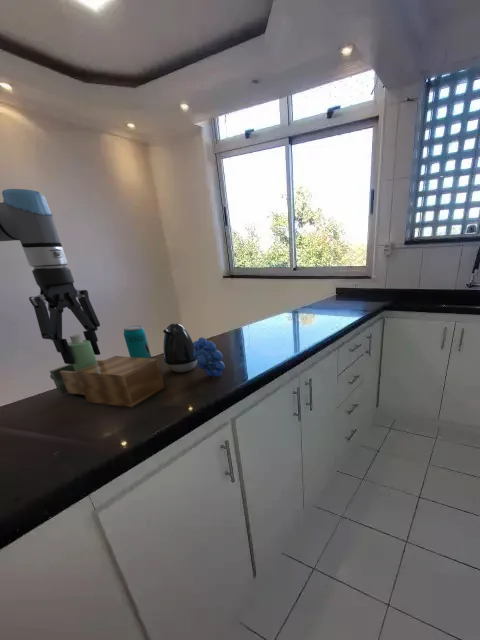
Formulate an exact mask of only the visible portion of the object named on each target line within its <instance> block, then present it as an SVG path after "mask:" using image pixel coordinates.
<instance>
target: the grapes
mask: <svg viewBox="0 0 480 640" xmlns="http://www.w3.org/2000/svg"><path fill="white" fill-rule="evenodd" d="M193 347H194V349H195V350H194V351H193V356H194V358H195V359H197V366H198V367H197V368H199V369H200V370H203V371H204V373H205V374H206V375H207V376H209V377H213V376H214V377H216V378H220V377H221V376H222V373H223V371H224V370H225V369H226V366H225V365H226V364H225V363H224V362H223V361H222V360H223V359H224V357H223V353H222V351H220V350H217V346H216V344H215V343H214V342H213V341H211V340H207V338H205V337H199V338H198V339H197V340H194V341H193Z"/></svg>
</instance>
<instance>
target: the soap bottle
mask: <svg viewBox="0 0 480 640" xmlns="http://www.w3.org/2000/svg"><path fill="white" fill-rule="evenodd" d="M69 338H70V342H67V343H68V345H69V348H70V351H71V353H72V356H73V359H74V361H75V364H73V367H74V370H75V372H76V371H78V370H80V369H83V368H85V367H88V366H91V365H93V364H96V363H97V360H98V359H97V358H96V355H95V354H94V351H93V348H92V346H91V343H90V341H89V340H86V339H83V337H82V335H81V334H79V333H78V334H77V333H76V334H71V335H69Z"/></svg>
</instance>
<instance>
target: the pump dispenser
mask: <svg viewBox="0 0 480 640" xmlns="http://www.w3.org/2000/svg"><path fill="white" fill-rule="evenodd" d="M162 333H163V334H164V336H163V344H162V346H163V349H162V350H163V359H164V363H165V364H166V365H167V367H168V368H169V369H170V371H172V372H175V373H178V374H179V373H181V374H182V373H188V372H190V371H192V370H194V368H196V366H197V365H198V362H197V359H195V358H194V356H193V351H194V350H195V349H194V347H193V343H194V341H193V339H192V337H191V335H190V333H189V332H188V331H187V329H186V328H185V327H184V326H183V325H182V324H180V323H178V322H173V323H170V324H168V325H167V326H166V329H163V332H162Z"/></svg>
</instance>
